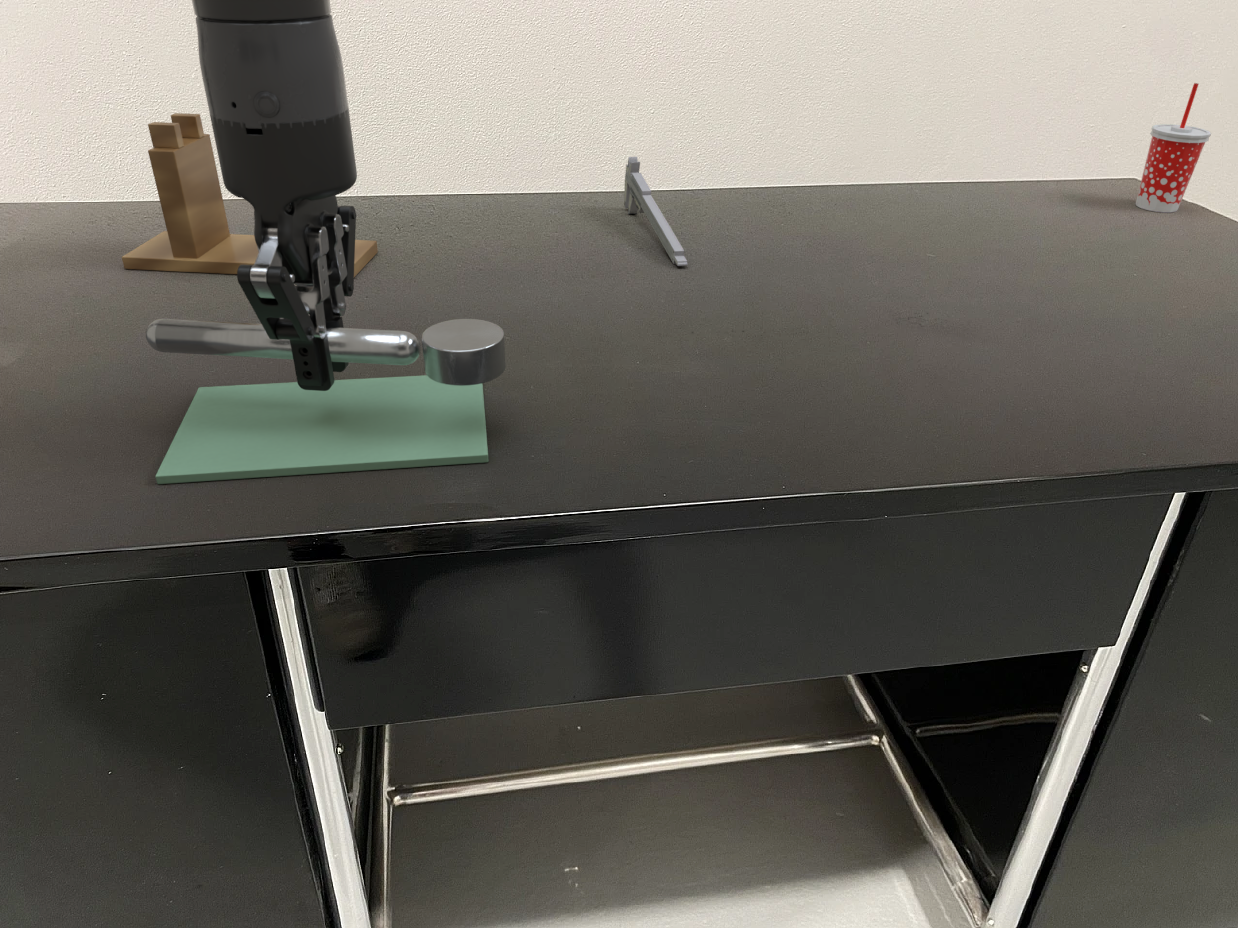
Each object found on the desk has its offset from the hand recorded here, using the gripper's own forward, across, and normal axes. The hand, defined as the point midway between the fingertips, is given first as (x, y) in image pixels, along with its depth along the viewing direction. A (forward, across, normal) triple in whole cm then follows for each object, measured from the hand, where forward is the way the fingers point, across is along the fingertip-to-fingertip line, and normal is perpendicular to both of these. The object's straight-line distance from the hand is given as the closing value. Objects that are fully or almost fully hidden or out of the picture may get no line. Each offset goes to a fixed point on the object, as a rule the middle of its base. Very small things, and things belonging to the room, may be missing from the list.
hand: (324, 377), depth 62 cm
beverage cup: (+4, -64, +80) cm, 102 cm away
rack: (+3, -30, -18) cm, 36 cm away
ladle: (-1, 0, 0) cm, 1 cm away
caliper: (+4, -44, +20) cm, 48 cm away
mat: (+3, 0, 0) cm, 3 cm away
